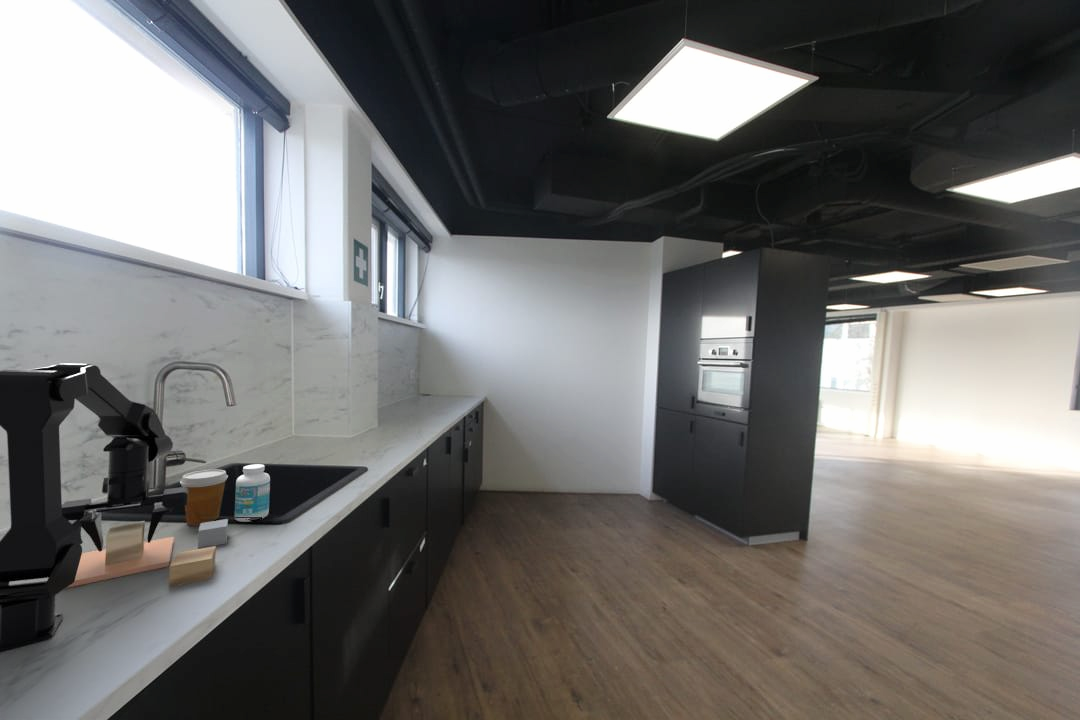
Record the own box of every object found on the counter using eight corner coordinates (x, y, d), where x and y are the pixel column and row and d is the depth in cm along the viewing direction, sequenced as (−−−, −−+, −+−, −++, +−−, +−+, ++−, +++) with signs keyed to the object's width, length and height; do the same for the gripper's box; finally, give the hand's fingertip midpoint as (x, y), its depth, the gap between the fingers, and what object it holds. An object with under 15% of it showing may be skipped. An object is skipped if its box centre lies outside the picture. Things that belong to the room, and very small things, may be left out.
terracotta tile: (168, 566, 82) (168, 561, 82) (63, 588, 74) (63, 582, 74) (173, 541, 93) (173, 536, 93) (82, 557, 84) (83, 552, 84)
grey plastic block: (226, 543, 93) (226, 526, 93) (197, 549, 90) (198, 530, 90) (227, 535, 97) (227, 518, 97) (200, 540, 94) (200, 523, 94)
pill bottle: (226, 520, 105) (228, 468, 105) (253, 511, 113) (255, 461, 113) (250, 524, 104) (252, 471, 104) (275, 514, 111) (277, 464, 111)
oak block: (210, 579, 78) (211, 558, 78) (168, 587, 75) (169, 566, 75) (215, 565, 83) (215, 546, 83) (176, 573, 80) (177, 552, 80)
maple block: (140, 558, 83) (141, 528, 83) (105, 565, 80) (106, 534, 80) (143, 549, 87) (145, 520, 87) (110, 555, 84) (111, 526, 84)
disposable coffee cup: (168, 529, 99) (170, 479, 99) (193, 514, 109) (195, 469, 109) (213, 527, 101) (215, 478, 101) (234, 513, 111) (235, 468, 111)
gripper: (190, 456, 96) (187, 523, 95) (70, 466, 84) (67, 543, 84) (188, 466, 87) (185, 540, 87) (54, 480, 75) (50, 565, 75)
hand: (125, 546), depth 83 cm, fingers open, 7 cm apart
